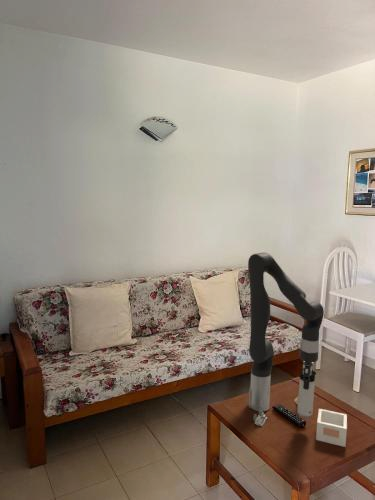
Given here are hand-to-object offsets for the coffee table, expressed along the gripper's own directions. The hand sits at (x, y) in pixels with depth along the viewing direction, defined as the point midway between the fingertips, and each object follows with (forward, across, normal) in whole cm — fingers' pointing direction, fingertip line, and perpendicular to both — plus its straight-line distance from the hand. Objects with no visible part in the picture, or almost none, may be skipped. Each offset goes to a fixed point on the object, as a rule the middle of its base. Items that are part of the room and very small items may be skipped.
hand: (306, 385), depth 163 cm
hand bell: (+21, -23, -3) cm, 31 cm away
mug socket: (+20, 0, +11) cm, 23 cm away
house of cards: (+21, +1, -21) cm, 30 cm away
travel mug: (+14, 0, 0) cm, 14 cm away
